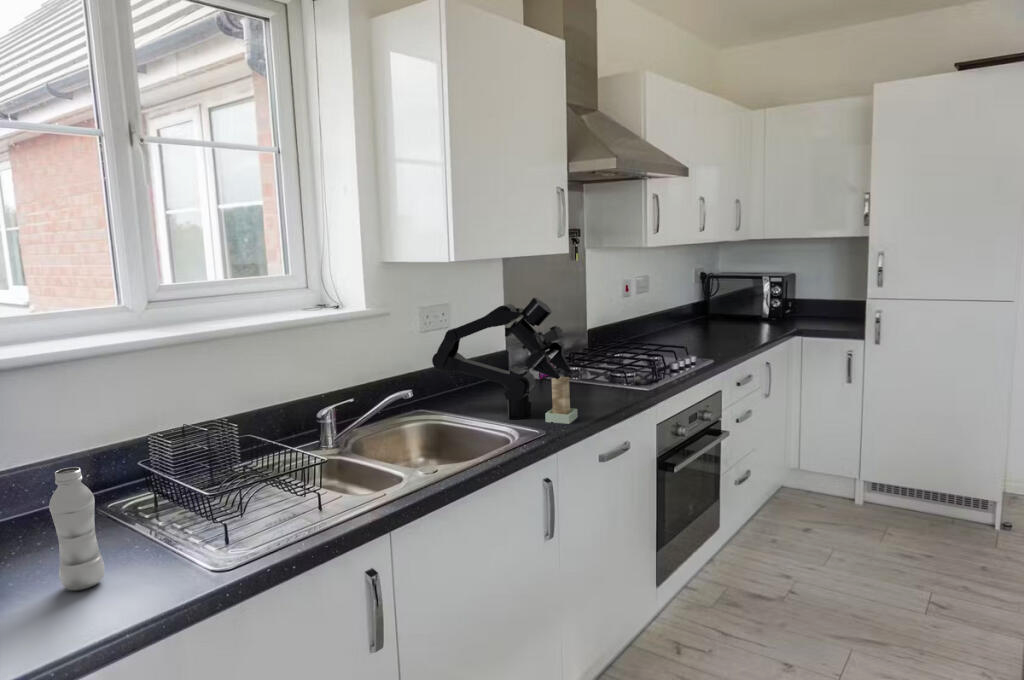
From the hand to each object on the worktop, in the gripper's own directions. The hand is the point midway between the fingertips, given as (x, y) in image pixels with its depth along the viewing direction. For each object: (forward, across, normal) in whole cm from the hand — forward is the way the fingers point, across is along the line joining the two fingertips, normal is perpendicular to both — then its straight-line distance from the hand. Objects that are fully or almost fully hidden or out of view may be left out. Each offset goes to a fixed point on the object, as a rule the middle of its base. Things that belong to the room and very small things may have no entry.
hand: (564, 374), depth 205 cm
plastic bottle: (-19, -120, +38) cm, 127 cm away
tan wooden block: (+8, 0, +10) cm, 13 cm away
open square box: (+9, 0, +11) cm, 14 cm away
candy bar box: (-13, +58, +32) cm, 67 cm away
